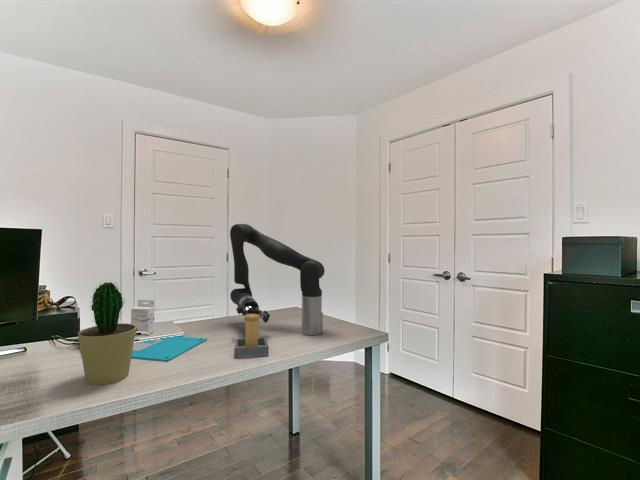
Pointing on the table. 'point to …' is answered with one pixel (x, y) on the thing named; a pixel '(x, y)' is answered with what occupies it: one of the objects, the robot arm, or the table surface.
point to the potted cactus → (107, 339)
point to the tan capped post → (251, 330)
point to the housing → (251, 348)
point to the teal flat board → (164, 348)
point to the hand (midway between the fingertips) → (257, 318)
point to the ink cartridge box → (143, 315)
